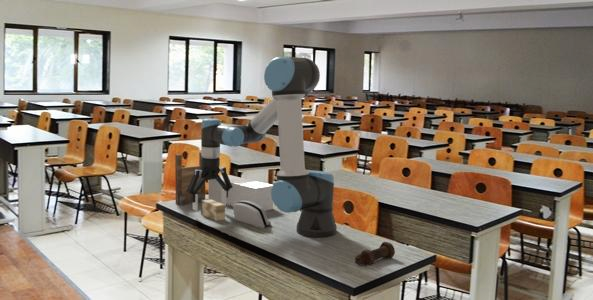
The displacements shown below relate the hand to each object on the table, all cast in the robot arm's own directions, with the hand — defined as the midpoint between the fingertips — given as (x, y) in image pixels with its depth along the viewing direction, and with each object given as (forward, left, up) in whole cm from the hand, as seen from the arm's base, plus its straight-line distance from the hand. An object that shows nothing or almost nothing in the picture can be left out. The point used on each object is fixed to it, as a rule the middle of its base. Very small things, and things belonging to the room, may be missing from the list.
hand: (209, 207), depth 224 cm
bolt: (-77, -14, -4) cm, 79 cm away
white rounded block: (-19, -7, -4) cm, 21 cm away
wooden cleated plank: (+24, -5, -3) cm, 25 cm away
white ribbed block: (+9, -21, -4) cm, 24 cm away
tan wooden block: (-2, 0, -3) cm, 4 cm away
